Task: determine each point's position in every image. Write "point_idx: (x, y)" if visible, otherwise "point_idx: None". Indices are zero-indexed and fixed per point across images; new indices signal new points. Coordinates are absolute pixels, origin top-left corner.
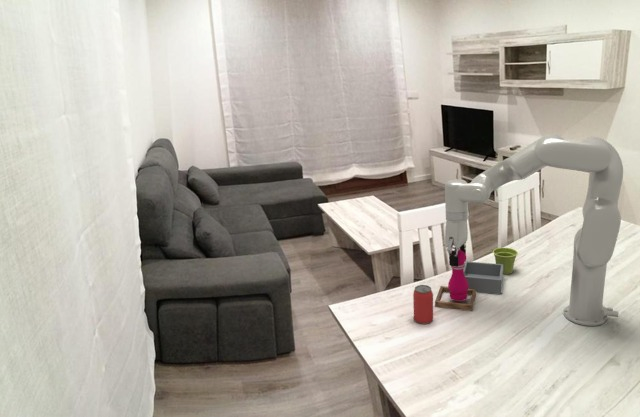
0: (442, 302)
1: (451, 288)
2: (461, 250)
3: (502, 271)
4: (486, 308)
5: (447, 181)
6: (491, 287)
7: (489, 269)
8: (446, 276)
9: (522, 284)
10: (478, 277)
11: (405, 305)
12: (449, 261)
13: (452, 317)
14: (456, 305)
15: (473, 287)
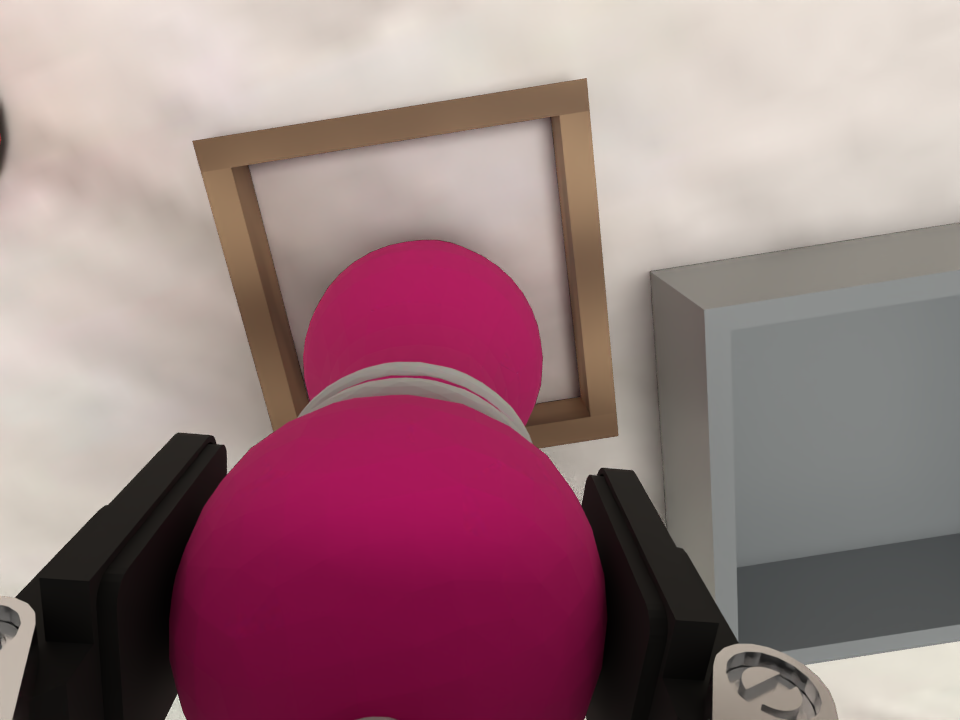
0: (216, 223)
1: (313, 314)
2: (619, 717)
3: (923, 646)
4: None
5: None
6: (685, 549)
7: None
8: (940, 32)
9: (881, 668)
10: (724, 489)
11: None
12: (146, 471)
13: (113, 351)
14: (256, 354)
15: (670, 398)
